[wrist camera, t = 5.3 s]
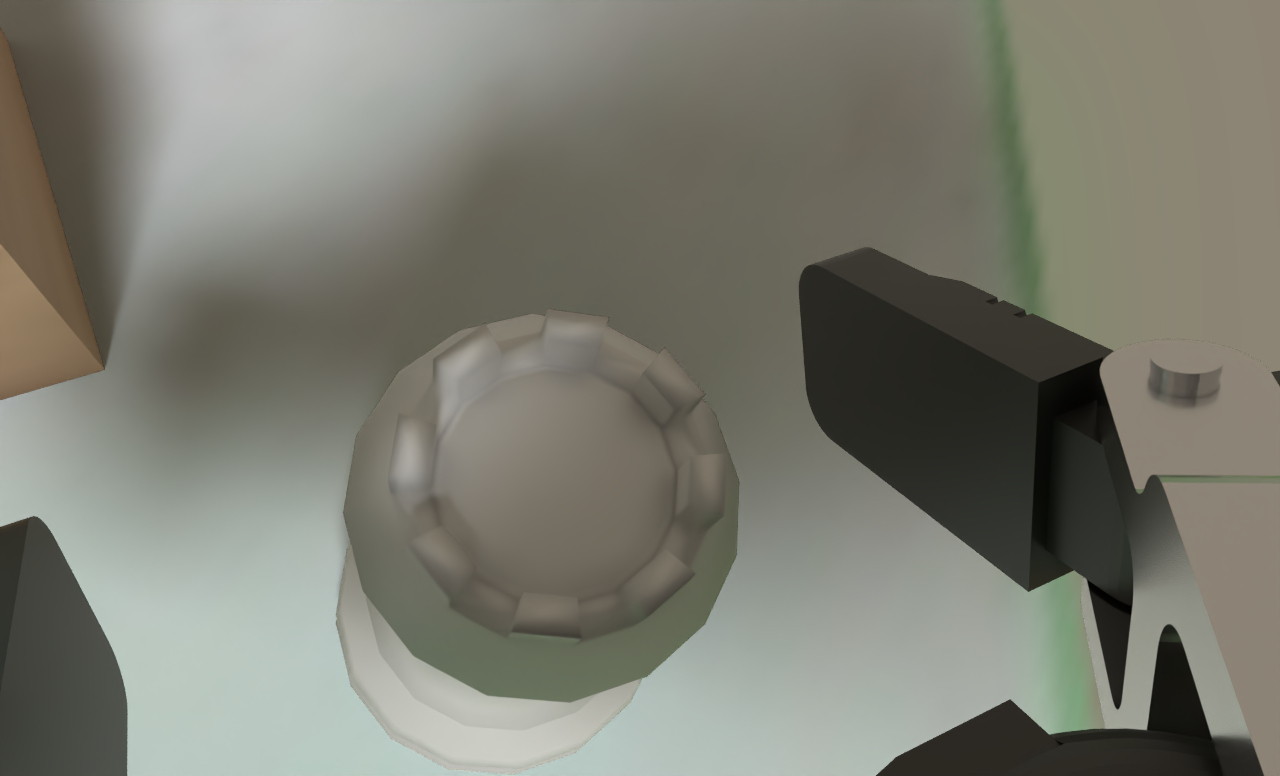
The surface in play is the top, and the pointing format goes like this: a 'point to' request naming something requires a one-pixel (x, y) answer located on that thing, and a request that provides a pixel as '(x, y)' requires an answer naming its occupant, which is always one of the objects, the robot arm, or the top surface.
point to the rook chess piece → (529, 538)
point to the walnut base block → (34, 262)
